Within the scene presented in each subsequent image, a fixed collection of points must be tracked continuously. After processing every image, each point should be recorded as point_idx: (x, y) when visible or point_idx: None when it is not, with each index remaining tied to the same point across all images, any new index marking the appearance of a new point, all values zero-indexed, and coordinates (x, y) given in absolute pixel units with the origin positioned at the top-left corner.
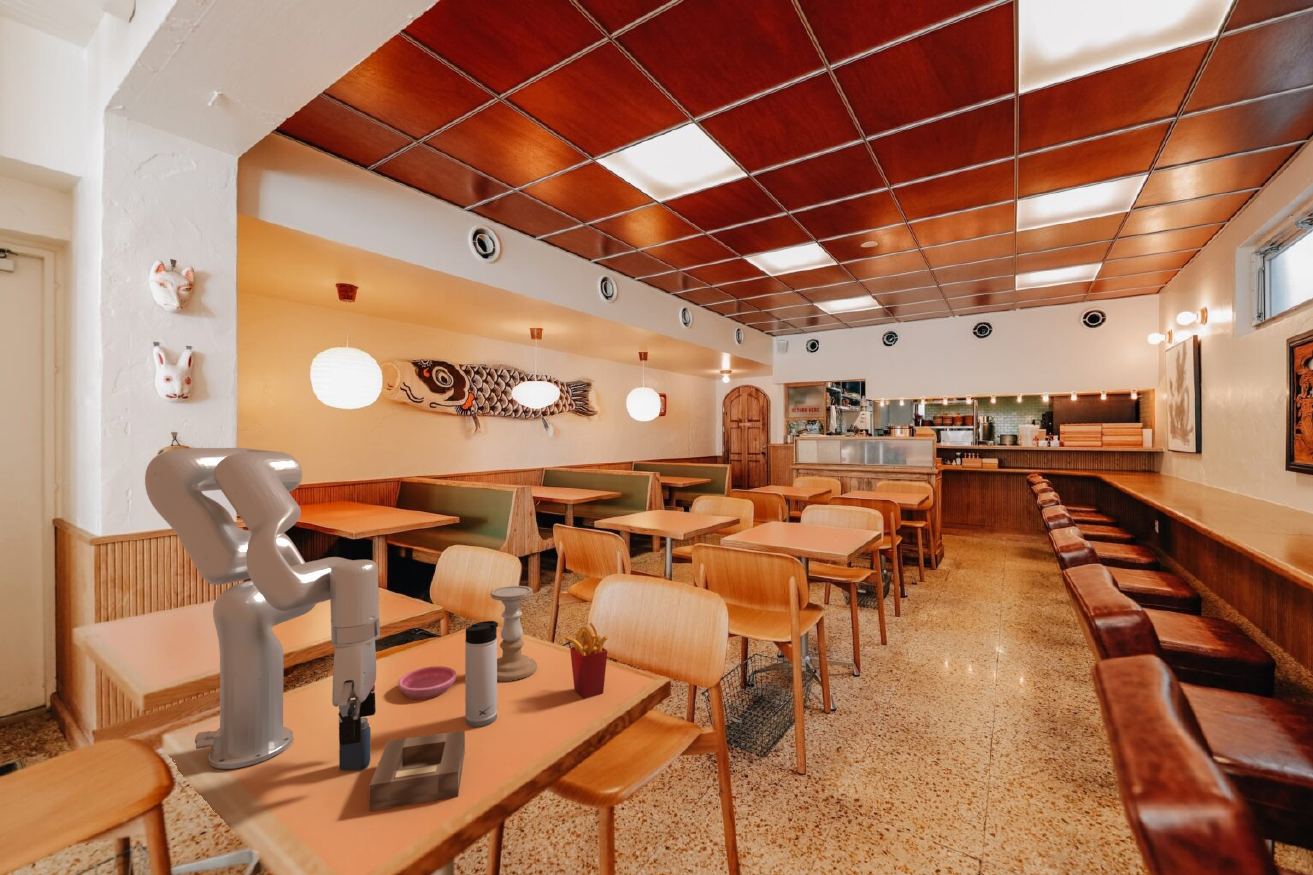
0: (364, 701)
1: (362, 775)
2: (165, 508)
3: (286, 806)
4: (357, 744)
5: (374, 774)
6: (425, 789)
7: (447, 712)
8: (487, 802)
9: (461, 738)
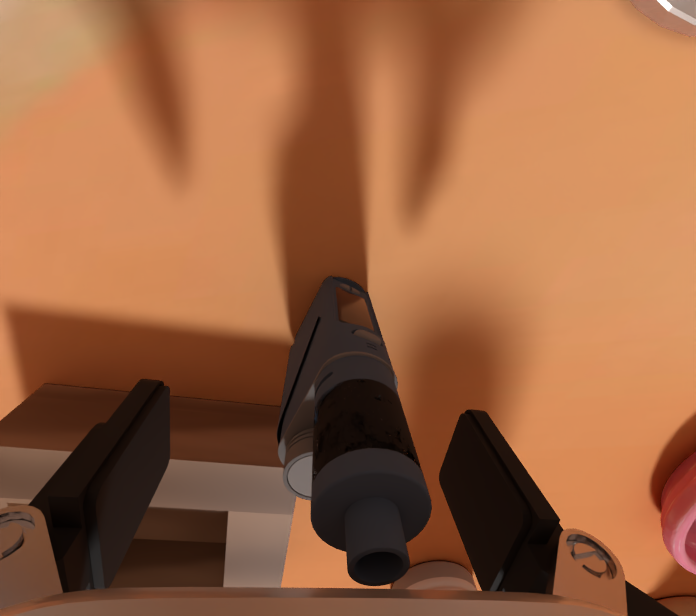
0: (486, 517)
1: (261, 348)
2: None
3: (130, 112)
4: (286, 389)
5: (49, 451)
6: None
7: None
8: None
9: None
